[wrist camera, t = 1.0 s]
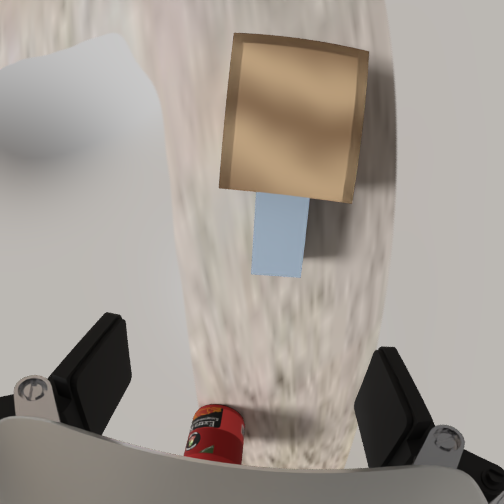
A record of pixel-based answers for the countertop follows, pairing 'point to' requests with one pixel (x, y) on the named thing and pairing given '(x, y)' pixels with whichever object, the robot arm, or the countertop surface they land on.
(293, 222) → the bar
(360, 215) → the countertop surface
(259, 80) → the cubby
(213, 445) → the canned food
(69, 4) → the countertop surface
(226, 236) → the countertop surface
